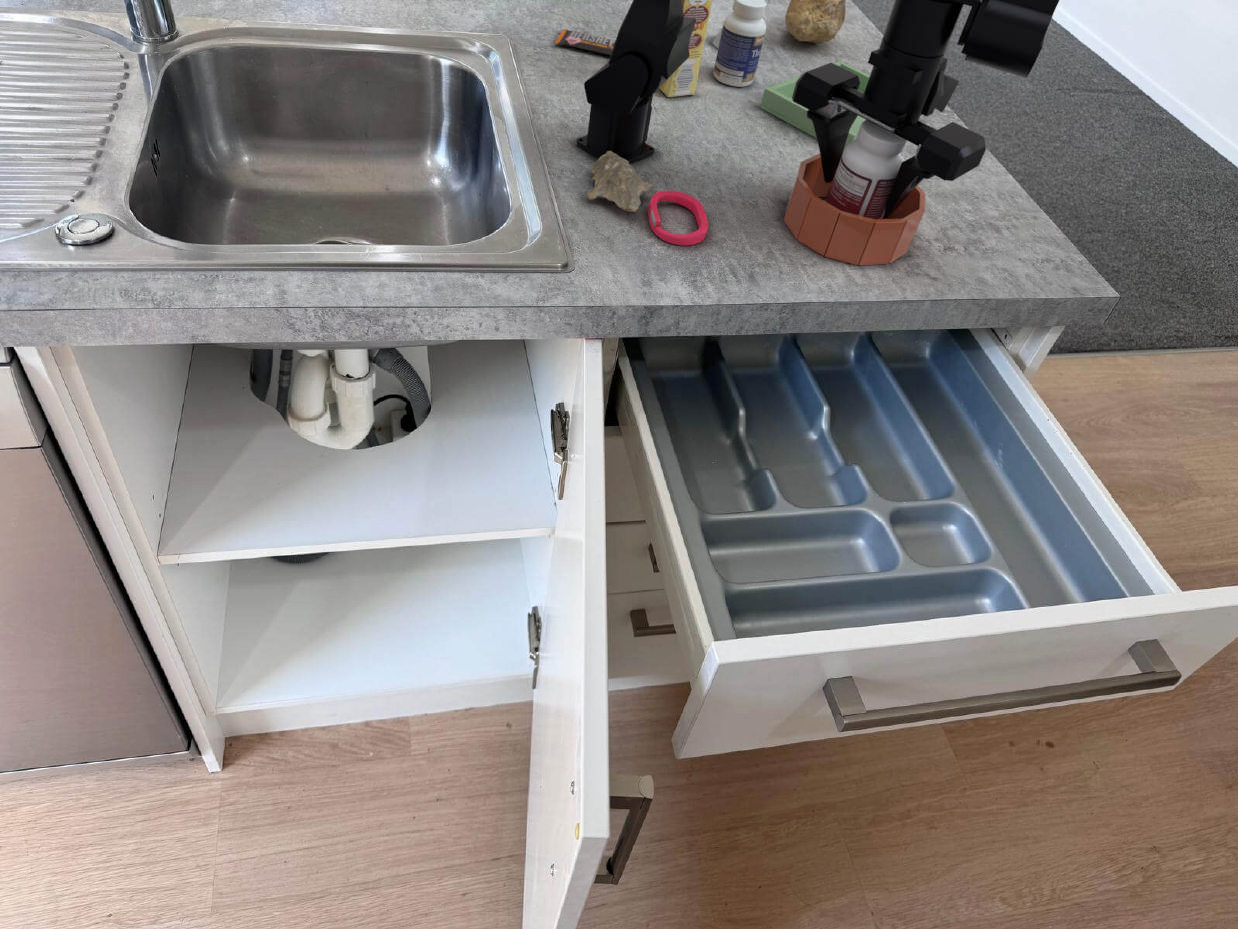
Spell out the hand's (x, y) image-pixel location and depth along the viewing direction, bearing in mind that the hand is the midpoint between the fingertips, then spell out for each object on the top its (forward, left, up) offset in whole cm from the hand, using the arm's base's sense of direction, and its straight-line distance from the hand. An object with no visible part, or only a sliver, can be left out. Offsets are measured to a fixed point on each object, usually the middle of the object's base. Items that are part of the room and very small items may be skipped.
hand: (858, 198), depth 91 cm
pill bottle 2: (0, 0, -4) cm, 4 cm away
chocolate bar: (+7, +45, -4) cm, 46 cm away
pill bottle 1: (+17, +30, -4) cm, 35 cm away
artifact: (-20, +14, -2) cm, 24 cm away
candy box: (+8, +34, -4) cm, 35 cm away
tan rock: (+38, +33, -4) cm, 50 cm away
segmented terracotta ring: (0, 0, -4) cm, 4 cm away
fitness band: (-15, +11, -2) cm, 19 cm away
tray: (+22, +16, -4) cm, 27 cm away
